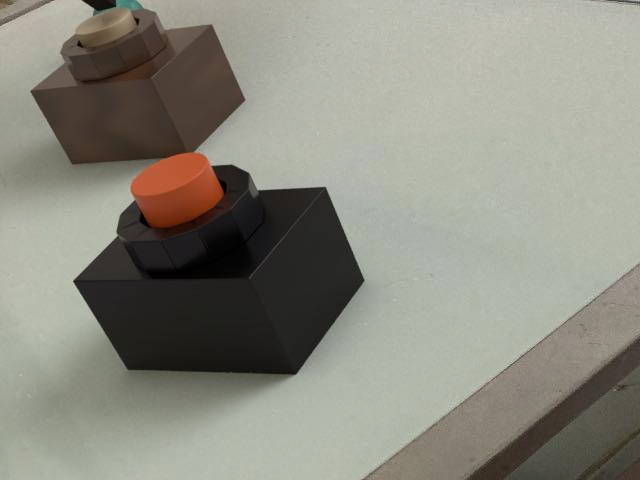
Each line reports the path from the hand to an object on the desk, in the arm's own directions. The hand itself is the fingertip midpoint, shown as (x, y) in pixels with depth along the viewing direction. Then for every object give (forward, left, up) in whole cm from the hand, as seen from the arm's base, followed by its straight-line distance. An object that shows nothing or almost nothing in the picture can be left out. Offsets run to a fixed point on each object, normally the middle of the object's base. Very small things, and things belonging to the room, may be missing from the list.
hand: (94, 0), depth 79 cm
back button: (0, 0, -3) cm, 3 cm away
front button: (+22, -23, -2) cm, 32 cm away
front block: (+22, -23, -10) cm, 33 cm away
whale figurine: (-15, +17, -10) cm, 24 cm away
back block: (0, 0, -10) cm, 10 cm away
